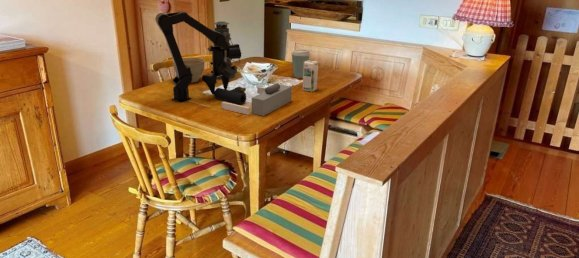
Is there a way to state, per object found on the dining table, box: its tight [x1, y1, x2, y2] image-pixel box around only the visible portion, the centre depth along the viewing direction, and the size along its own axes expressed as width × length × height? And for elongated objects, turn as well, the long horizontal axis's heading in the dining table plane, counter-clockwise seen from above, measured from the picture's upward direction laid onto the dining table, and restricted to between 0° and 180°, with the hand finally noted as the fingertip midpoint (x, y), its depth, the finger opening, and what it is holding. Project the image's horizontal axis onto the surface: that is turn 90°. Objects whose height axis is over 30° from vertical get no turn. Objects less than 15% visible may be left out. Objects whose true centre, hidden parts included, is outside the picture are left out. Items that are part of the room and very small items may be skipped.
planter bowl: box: [172, 56, 206, 84], centre depth 224 cm, size 16×16×11 cm
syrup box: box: [302, 59, 319, 93], centre depth 215 cm, size 6×6×14 cm
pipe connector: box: [213, 86, 247, 106], centre depth 199 cm, size 12×5×15 cm
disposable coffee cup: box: [291, 49, 311, 79], centre depth 237 cm, size 11×11×15 cm
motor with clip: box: [221, 82, 293, 117], centre depth 193 cm, size 29×20×10 cm
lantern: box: [211, 20, 241, 80], centre depth 231 cm, size 19×14×30 cm
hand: (219, 92), depth 204 cm, fingers open, 9 cm apart
